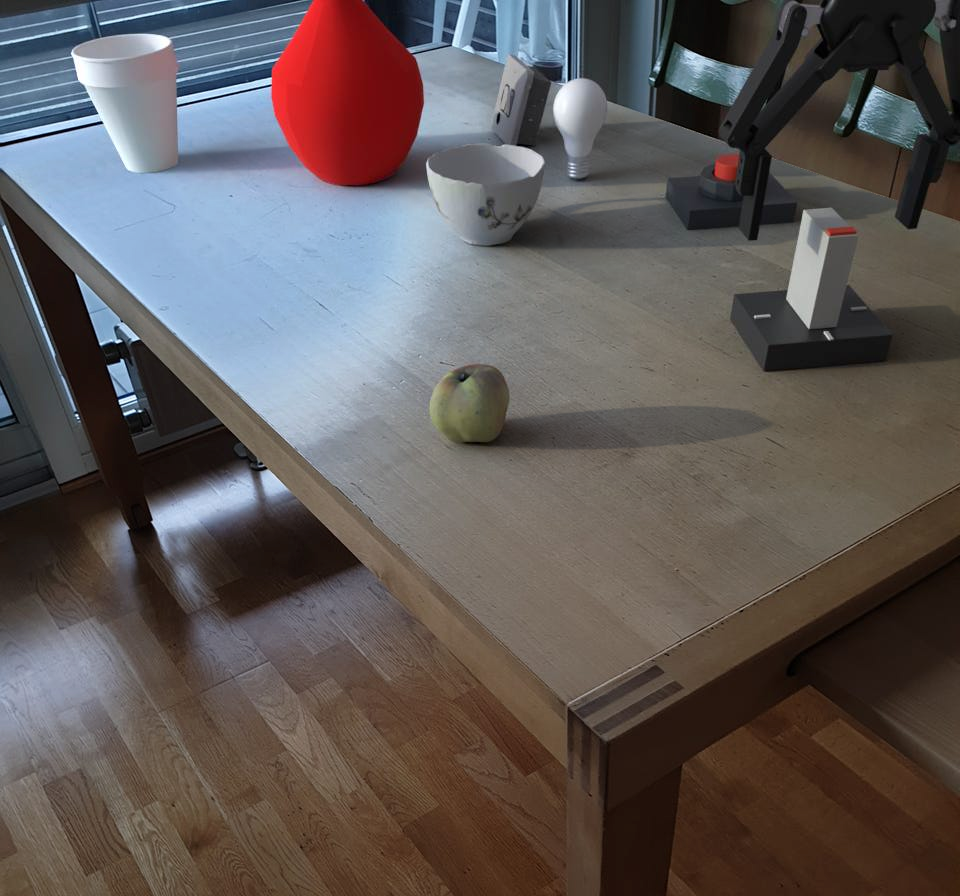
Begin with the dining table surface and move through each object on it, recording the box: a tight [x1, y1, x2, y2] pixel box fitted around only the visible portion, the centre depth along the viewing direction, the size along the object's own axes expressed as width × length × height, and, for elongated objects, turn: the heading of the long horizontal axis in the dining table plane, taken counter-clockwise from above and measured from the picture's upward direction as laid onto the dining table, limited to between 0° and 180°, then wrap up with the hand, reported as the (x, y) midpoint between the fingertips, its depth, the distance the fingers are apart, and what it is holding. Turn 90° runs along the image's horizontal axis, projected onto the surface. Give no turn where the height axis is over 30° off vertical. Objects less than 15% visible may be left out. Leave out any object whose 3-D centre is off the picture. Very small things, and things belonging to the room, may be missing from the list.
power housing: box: [665, 163, 798, 232], centre depth 108 cm, size 12×10×4 cm
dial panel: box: [729, 284, 893, 372], centre depth 87 cm, size 11×10×3 cm
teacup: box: [425, 143, 546, 247], centre depth 105 cm, size 15×12×8 cm
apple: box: [428, 363, 511, 443], centre depth 76 cm, size 6×8×6 cm
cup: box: [70, 33, 180, 174], centre depth 123 cm, size 12×12×14 cm
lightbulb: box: [552, 77, 608, 181], centre depth 114 cm, size 6×6×11 cm
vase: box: [270, 0, 425, 186], centre depth 112 cm, size 18×18×30 cm
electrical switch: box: [491, 54, 552, 147], centre depth 127 cm, size 9×5×9 cm, turn 15°
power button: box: [714, 153, 739, 181], centre depth 107 cm, size 4×4×2 cm
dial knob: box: [786, 207, 859, 329], centre depth 83 cm, size 6×2×8 cm, turn 6°
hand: (826, 228), depth 81 cm, fingers open, 13 cm apart
